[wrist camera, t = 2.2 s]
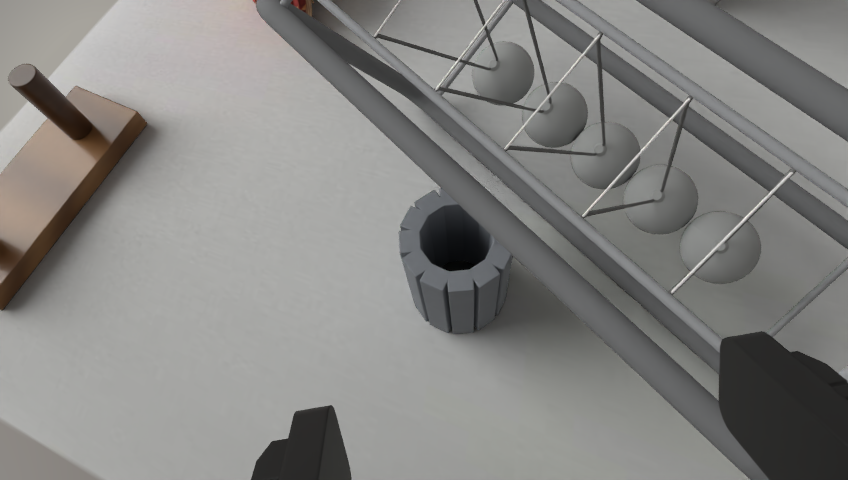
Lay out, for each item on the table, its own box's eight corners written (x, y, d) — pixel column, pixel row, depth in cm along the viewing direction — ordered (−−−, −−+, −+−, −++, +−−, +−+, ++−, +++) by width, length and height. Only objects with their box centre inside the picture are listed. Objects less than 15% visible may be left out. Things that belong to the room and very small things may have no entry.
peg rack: (2, 310, 39) (-99, 270, 32) (-61, 274, 40) (-171, 228, 33) (148, 123, 44) (88, 54, 37) (87, 97, 45) (18, 26, 38)
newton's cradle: (407, 95, 43) (232, -7, 27) (499, -28, 41) (366, -220, 24) (757, 407, 33) (809, 540, 17) (912, 270, 30) (1151, 272, 14)
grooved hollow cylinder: (482, 349, 35) (485, 310, 28) (397, 309, 37) (378, 263, 29) (519, 266, 37) (532, 210, 30) (437, 232, 39) (429, 170, 31)
